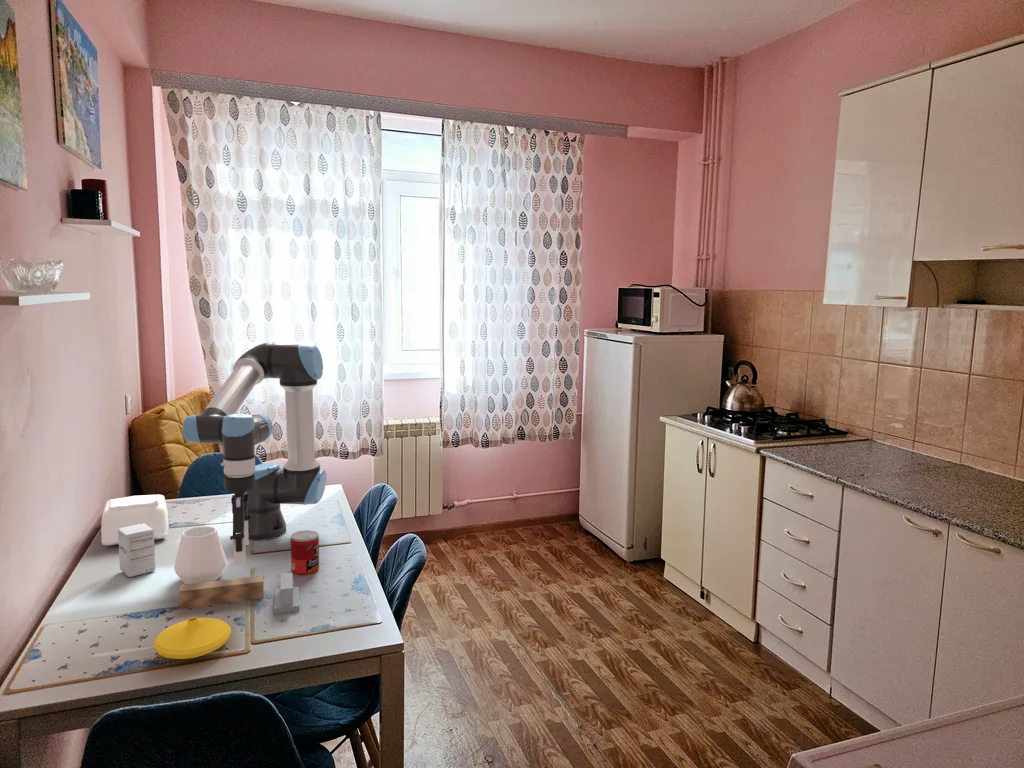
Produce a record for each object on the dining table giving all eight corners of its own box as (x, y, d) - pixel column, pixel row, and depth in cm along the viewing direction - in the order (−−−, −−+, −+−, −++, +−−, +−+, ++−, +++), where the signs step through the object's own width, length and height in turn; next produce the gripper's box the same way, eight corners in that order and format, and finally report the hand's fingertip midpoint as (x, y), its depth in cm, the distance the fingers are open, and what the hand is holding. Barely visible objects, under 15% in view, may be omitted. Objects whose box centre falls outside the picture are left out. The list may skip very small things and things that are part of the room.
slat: (179, 609, 168) (178, 591, 168) (181, 603, 172) (180, 584, 172) (263, 599, 175) (263, 581, 175) (263, 593, 179) (263, 575, 178)
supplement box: (119, 570, 191) (116, 528, 189) (147, 563, 196) (145, 522, 195) (128, 578, 186) (125, 534, 184) (156, 570, 191) (154, 528, 190)
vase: (178, 630, 158) (176, 602, 157) (243, 632, 157) (242, 604, 157) (139, 666, 142) (137, 635, 141) (211, 669, 142) (210, 638, 141)
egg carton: (100, 551, 206) (97, 509, 204) (106, 521, 232) (104, 484, 230) (169, 541, 215) (167, 501, 213) (168, 514, 241) (166, 478, 239)
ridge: (275, 594, 178) (274, 572, 177) (298, 591, 180) (298, 570, 179) (274, 614, 167) (273, 591, 166) (299, 611, 168) (299, 588, 168)
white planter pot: (163, 584, 183) (161, 535, 181) (201, 566, 195) (199, 520, 193) (201, 592, 178) (199, 542, 176) (237, 573, 190) (236, 527, 189)
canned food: (311, 577, 189) (310, 540, 188) (285, 574, 190) (285, 537, 189) (324, 567, 196) (323, 531, 195) (299, 564, 198) (298, 529, 197)
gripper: (228, 464, 182) (230, 538, 184) (218, 487, 158) (221, 572, 160) (257, 462, 184) (258, 536, 186) (252, 485, 160) (254, 569, 163)
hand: (241, 553), depth 173 cm, fingers open, 13 cm apart
